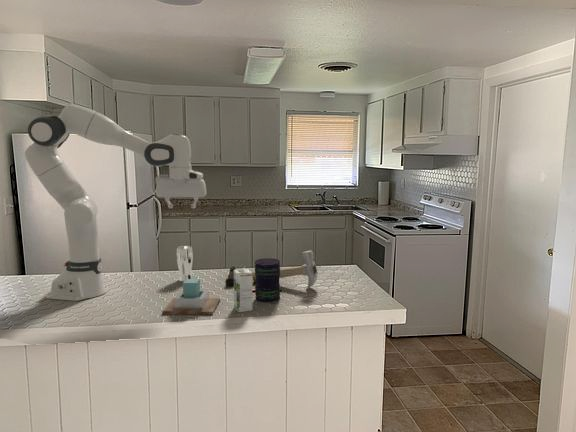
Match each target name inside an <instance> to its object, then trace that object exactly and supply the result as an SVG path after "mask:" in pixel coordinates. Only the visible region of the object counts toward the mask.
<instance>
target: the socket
mask: <svg viewBox="0 0 576 432" xmlns="http://www.w3.org/2000/svg"><path fill="white" fill-rule="evenodd" d="M209 292H210V291H209V289H200V297H183V289H182V290H180V292H179V293H178V294H177V295H176V296H175V297H174V298H175V309H199V310H203V308H204V307H205V305H206V304H207V302H208V301H209V298H210V297H209V294H210V293H209Z"/></svg>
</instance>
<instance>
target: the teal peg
mask: <svg viewBox="0 0 576 432" xmlns="http://www.w3.org/2000/svg"><path fill="white" fill-rule="evenodd" d="M182 290H183V297H200V290H201V278H192V279H186V280H185V281H184V282H182Z"/></svg>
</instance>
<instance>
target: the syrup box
mask: <svg viewBox="0 0 576 432" xmlns="http://www.w3.org/2000/svg"><path fill="white" fill-rule="evenodd" d="M252 272H253V271H251V270H250V269H249V268H245V269H244V268H238V269H236V270H234V286H233V308H234V310H235V311H236V312H237V313H244V312H250V311H253V285H252Z"/></svg>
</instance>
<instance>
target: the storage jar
mask: <svg viewBox="0 0 576 432" xmlns="http://www.w3.org/2000/svg"><path fill="white" fill-rule="evenodd" d="M280 263H281V261H280V259H278V258H259V259H256V260H255V261H254V271H255V276H256V282H255V287H254V293H255V301H256V302H258V303H265V304H266V303H267V304H268V303H270V304H271V303H276V302H279V301H280V300H281V284H280V278H279V276H280V269H281V265H280Z"/></svg>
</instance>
